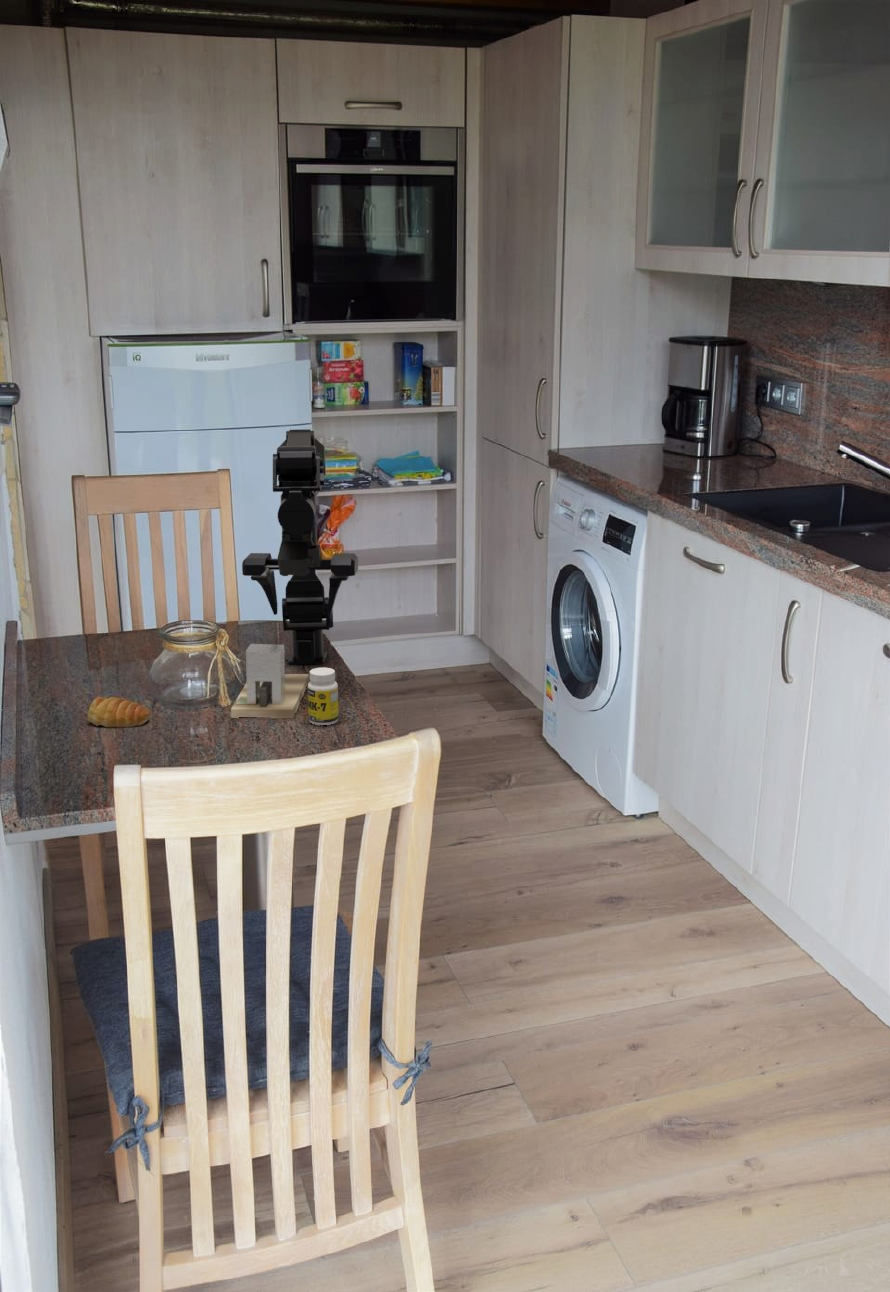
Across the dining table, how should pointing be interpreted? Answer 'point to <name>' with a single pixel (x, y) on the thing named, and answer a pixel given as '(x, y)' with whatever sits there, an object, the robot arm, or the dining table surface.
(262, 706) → the rack
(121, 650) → the dining table surface
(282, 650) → the clip
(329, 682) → the supplement bottle
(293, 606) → the robot arm
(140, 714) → the pastry
